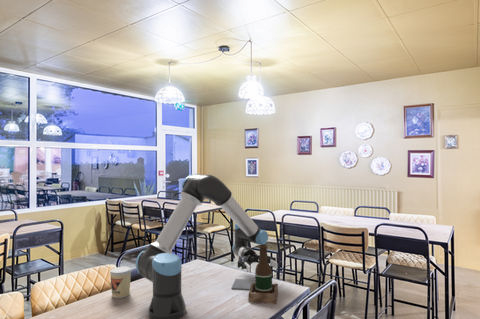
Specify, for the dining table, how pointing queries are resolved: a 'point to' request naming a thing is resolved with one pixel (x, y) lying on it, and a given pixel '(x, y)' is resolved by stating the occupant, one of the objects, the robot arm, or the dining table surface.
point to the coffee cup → (120, 281)
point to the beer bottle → (263, 273)
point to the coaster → (242, 284)
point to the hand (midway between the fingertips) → (263, 267)
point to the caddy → (263, 295)
